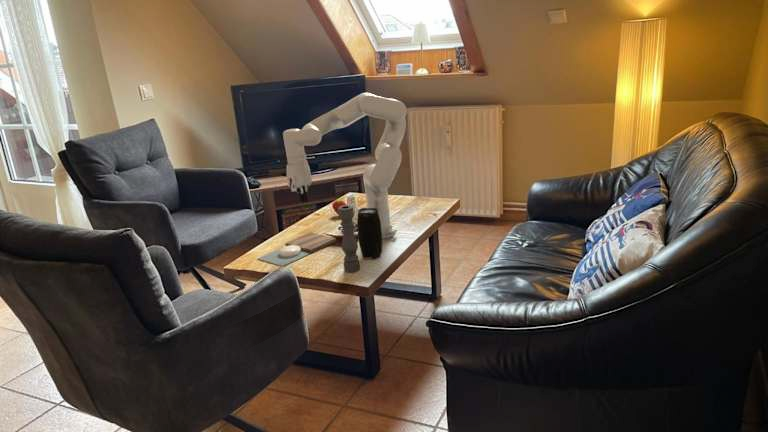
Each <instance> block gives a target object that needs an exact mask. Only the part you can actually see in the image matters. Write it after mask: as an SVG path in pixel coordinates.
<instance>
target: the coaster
mask: <svg viewBox="0 0 768 432" xmlns="http://www.w3.org/2000/svg"><path fill="white" fill-rule="evenodd" d="M278 249H279V255H280V256H281V257H294V256H297V255H299V254H300V253H301V248H300V246H296V245H290V246H286V245H285V246H283V247H281V248H278Z"/></svg>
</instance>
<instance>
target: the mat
mask: <svg viewBox="0 0 768 432" xmlns="http://www.w3.org/2000/svg"><path fill="white" fill-rule="evenodd" d="M279 249H280V248H278V249H276V250H274V251H272V252H270V253H267V254H265V255H262V256H260V257H258V258H257V261H261V262H265V263H268V264H272V265H276V266H278V267H282V266H284V267H286V266H288V265H290V264H293V263H294V262H297V261H298V260H300V259H303V258H305V257H307V256H309V255H311V253H308V252H304V251H301V253H300V254H299V255H297V256H294V257H281V256H280V255H279Z"/></svg>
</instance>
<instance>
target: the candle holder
mask: <svg viewBox="0 0 768 432" xmlns="http://www.w3.org/2000/svg"><path fill="white" fill-rule="evenodd" d="M338 214H339V215H338ZM338 214H337V215H338V217H339V220H340V221H341V222H340V223H339V224H340V226H341V227H342V243H341V249H342V251H343V253H344V255H345V256H344V257H343V270H344V272H345V273H348V274H355V273H357V272H358V273H359V271H361V260H360V259H359V258H360V257H359V256H358V254H357V251H358V249H359V243H358V242H357V238H356V236H355V234H354V233H355V232H354V226H355V222H354V220H353V218H354V216H355V210H354V206H353V205H352V204H346V205H343V206H340V207H338Z"/></svg>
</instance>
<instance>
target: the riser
mask: <svg viewBox="0 0 768 432" xmlns="http://www.w3.org/2000/svg"><path fill="white" fill-rule="evenodd" d="M336 242H337V238H336V237H333V236H328V235H323V234H319V233H314V232H307V233H305V234H304V235H300V236H299V237H296V238H295V239H292V240H289V241H287V242H285V243H284V244H285V246H290V245H296V246H300V248H301V251H304V252H308V253H310V254H314V253H316V252H318V251H320V250H321V249H324V248H326V247H328V246H331V245H332V244H334V243H336Z"/></svg>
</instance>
